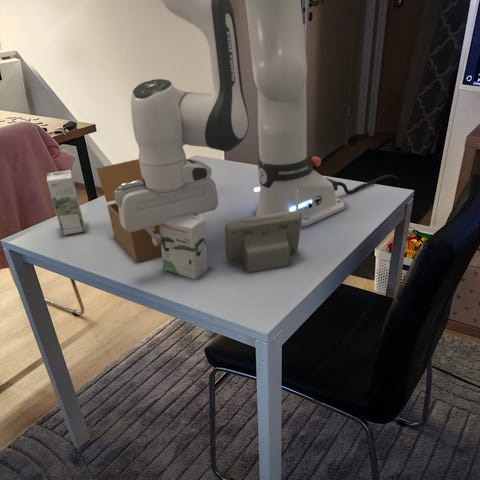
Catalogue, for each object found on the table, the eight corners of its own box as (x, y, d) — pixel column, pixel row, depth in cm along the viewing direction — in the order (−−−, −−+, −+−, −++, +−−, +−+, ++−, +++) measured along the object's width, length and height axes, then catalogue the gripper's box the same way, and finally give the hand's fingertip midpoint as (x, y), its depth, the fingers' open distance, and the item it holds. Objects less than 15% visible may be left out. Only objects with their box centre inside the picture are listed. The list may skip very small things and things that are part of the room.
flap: (106, 202, 122) (106, 202, 123) (161, 188, 127) (161, 188, 128) (96, 168, 120) (96, 168, 121) (152, 155, 125) (152, 156, 126)
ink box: (162, 269, 111) (155, 218, 104) (176, 259, 115) (170, 208, 108) (196, 280, 108) (191, 227, 101) (209, 269, 111) (205, 217, 104)
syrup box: (84, 224, 136) (70, 168, 128) (85, 233, 131) (71, 175, 123) (62, 228, 135) (46, 172, 127) (62, 237, 130) (46, 179, 122)
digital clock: (299, 249, 116) (299, 203, 110) (304, 268, 108) (304, 220, 102) (226, 254, 116) (221, 208, 110) (226, 274, 108) (221, 226, 102)
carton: (114, 238, 127) (107, 205, 123) (167, 223, 133) (161, 191, 128) (137, 262, 116) (129, 227, 111) (193, 245, 121) (189, 211, 116)
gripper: (117, 190, 95) (131, 259, 103) (218, 166, 102) (224, 232, 110) (107, 181, 100) (121, 247, 107) (204, 159, 107) (211, 222, 115)
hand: (174, 239), depth 109 cm, fingers closed on ink box, 6 cm apart
